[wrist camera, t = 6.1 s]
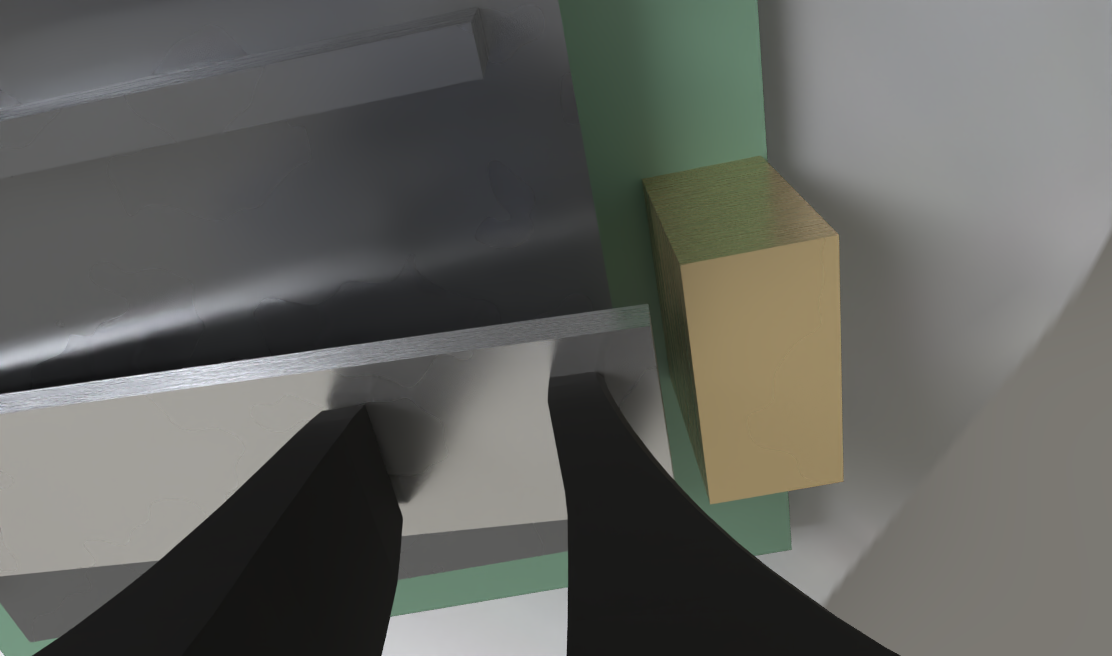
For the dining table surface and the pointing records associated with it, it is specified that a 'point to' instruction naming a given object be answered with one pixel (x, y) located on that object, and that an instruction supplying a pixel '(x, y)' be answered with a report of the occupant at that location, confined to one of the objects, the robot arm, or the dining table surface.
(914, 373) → the dining table surface
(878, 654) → the robot arm
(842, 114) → the dining table surface
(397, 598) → the circuit board
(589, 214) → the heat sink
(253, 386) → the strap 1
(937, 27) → the dining table surface
